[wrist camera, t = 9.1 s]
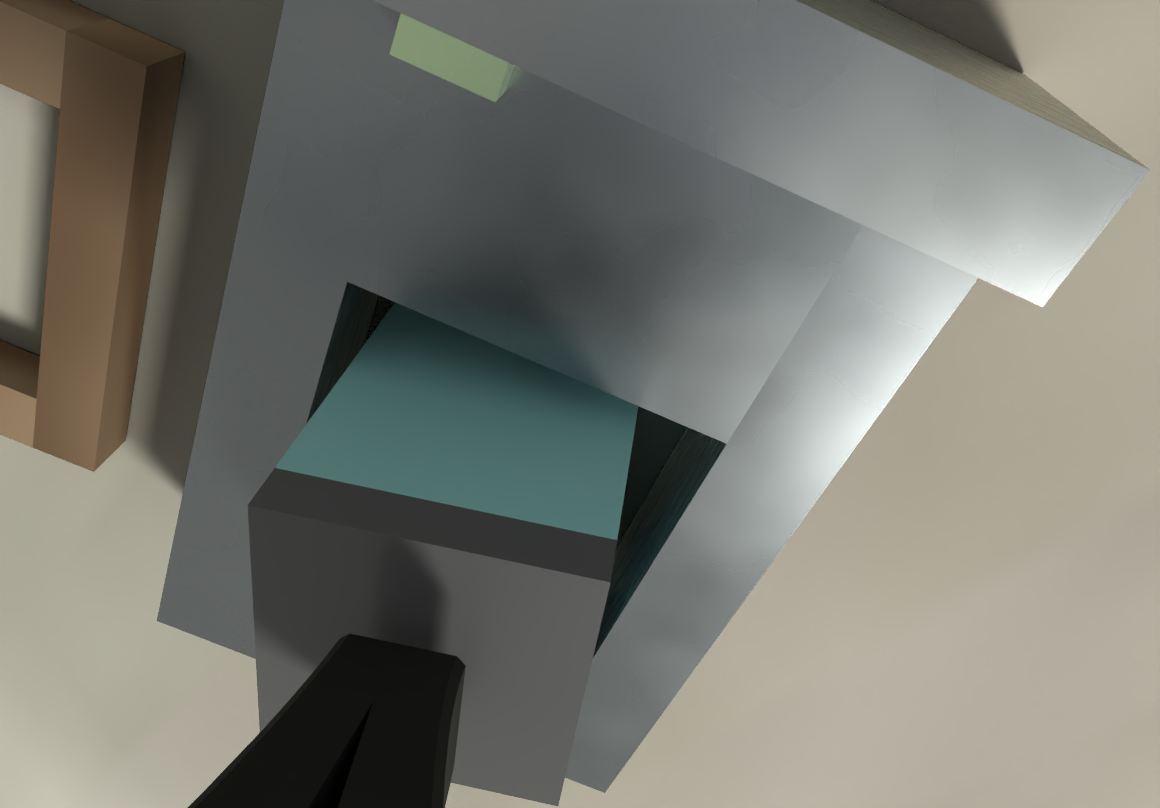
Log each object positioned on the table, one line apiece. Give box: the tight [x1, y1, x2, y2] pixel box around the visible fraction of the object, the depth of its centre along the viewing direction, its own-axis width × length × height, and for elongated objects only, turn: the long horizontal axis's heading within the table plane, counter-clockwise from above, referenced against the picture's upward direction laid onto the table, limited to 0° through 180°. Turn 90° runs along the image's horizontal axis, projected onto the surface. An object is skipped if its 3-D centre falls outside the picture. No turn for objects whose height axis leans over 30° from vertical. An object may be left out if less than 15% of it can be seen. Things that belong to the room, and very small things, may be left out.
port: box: [157, 0, 1150, 793], centre depth 13 cm, size 8×13×4 cm, turn 158°
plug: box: [248, 302, 638, 806], centre depth 13 cm, size 4×4×6 cm
